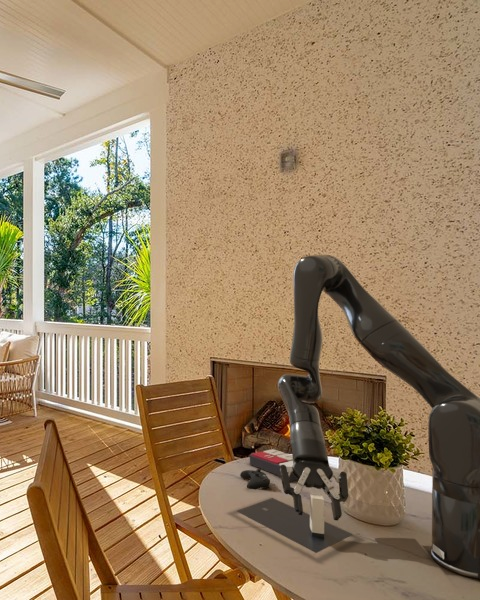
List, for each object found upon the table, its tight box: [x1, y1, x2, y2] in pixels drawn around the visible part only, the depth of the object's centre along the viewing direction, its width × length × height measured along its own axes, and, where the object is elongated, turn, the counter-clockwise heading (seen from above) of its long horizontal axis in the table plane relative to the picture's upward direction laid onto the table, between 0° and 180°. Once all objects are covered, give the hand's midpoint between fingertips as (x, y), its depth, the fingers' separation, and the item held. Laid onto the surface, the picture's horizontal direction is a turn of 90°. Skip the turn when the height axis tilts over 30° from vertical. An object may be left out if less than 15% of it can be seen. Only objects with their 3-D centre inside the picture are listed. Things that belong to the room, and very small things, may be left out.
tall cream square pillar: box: [309, 493, 325, 538], centre depth 95 cm, size 2×2×8 cm
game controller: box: [239, 468, 271, 490], centre depth 123 cm, size 10×5×6 cm
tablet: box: [236, 497, 354, 554], centre depth 100 cm, size 22×16×1 cm
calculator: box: [249, 448, 299, 482], centre depth 133 cm, size 11×4×15 cm
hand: (318, 516), depth 93 cm, fingers open, 6 cm apart
